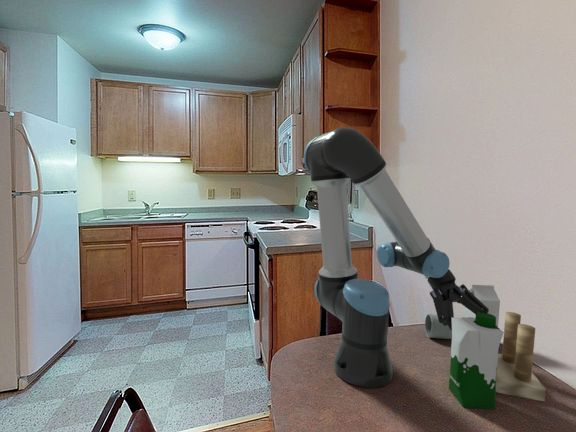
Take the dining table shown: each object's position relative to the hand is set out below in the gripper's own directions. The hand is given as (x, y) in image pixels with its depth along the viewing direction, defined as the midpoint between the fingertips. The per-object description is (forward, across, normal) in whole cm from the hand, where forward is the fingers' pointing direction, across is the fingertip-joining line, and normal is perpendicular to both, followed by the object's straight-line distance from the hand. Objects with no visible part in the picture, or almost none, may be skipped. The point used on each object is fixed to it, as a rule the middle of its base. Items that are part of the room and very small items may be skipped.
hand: (482, 341), depth 87 cm
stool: (+8, 0, -3) cm, 9 cm away
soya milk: (+11, +15, -1) cm, 19 cm away
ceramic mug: (-8, -8, -20) cm, 23 cm away
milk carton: (-2, -17, -13) cm, 22 cm away
